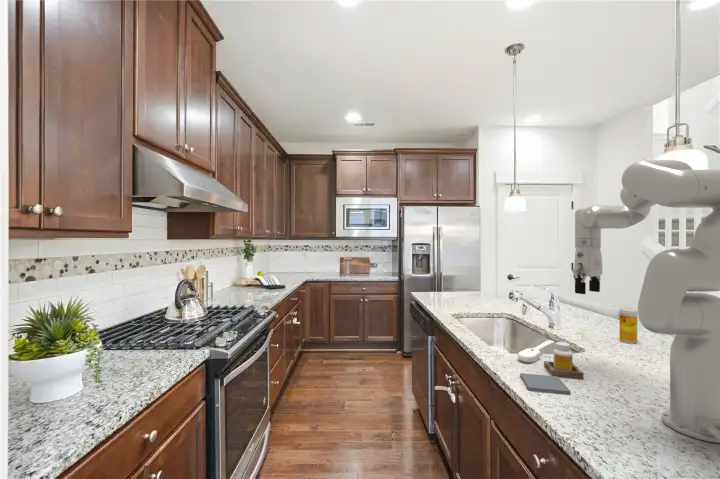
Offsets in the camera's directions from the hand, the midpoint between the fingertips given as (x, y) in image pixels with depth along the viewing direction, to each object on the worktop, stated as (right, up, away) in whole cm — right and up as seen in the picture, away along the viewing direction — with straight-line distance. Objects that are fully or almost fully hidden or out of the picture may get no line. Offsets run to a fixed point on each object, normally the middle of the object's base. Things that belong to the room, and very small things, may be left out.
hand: (587, 292), depth 119 cm
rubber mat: (-24, -26, -15) cm, 38 cm away
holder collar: (-12, -26, -6) cm, 29 cm away
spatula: (-11, -26, +12) cm, 31 cm away
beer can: (+38, -26, +30) cm, 54 cm away
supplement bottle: (-12, -26, -6) cm, 29 cm away
